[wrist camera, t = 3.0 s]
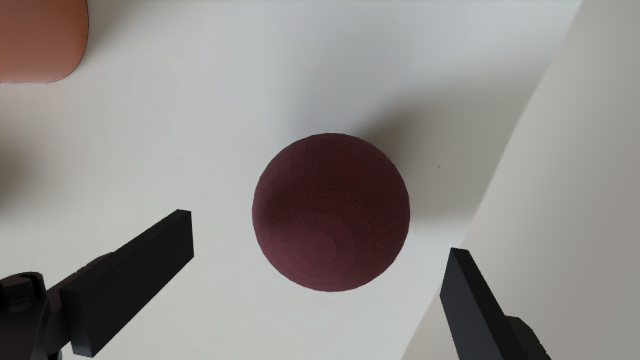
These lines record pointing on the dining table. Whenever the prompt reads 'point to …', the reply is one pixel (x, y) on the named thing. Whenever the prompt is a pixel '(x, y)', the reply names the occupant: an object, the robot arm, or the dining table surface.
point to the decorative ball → (331, 212)
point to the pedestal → (41, 39)
